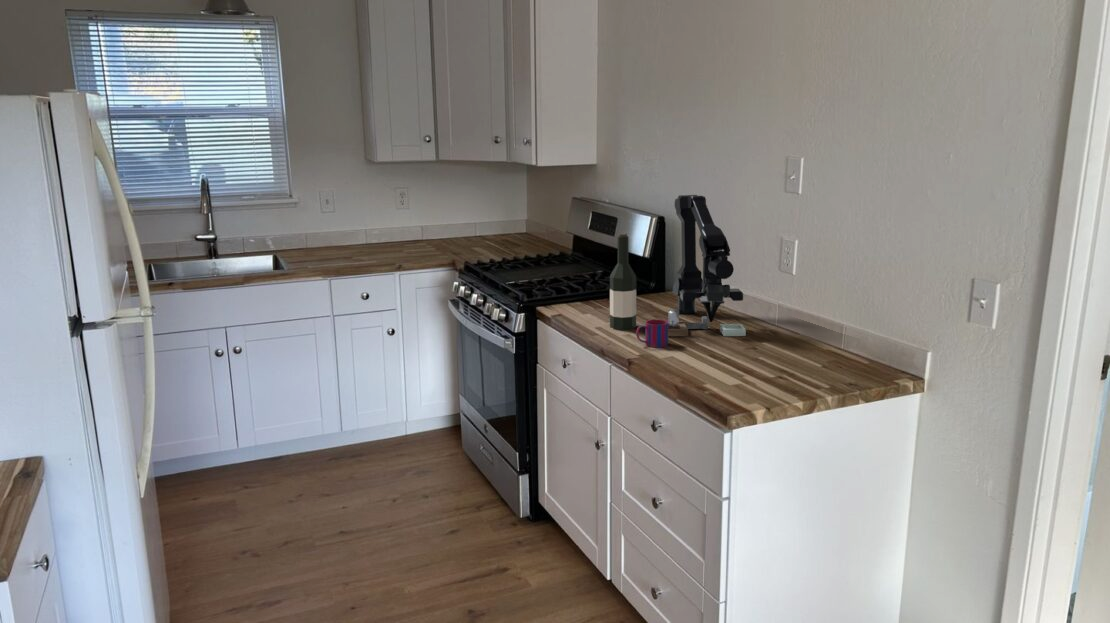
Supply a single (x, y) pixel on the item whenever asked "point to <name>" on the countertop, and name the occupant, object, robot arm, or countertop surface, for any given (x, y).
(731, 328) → the tray
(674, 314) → the polished steel rod
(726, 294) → the robot arm
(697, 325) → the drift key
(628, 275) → the wine bottle
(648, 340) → the mug
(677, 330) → the socket block
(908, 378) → the countertop surface
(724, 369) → the countertop surface
